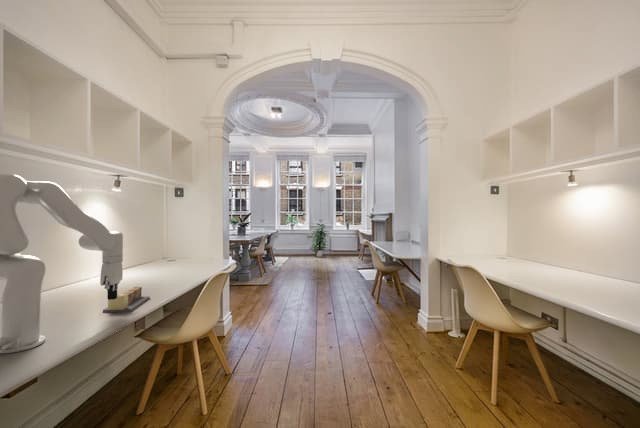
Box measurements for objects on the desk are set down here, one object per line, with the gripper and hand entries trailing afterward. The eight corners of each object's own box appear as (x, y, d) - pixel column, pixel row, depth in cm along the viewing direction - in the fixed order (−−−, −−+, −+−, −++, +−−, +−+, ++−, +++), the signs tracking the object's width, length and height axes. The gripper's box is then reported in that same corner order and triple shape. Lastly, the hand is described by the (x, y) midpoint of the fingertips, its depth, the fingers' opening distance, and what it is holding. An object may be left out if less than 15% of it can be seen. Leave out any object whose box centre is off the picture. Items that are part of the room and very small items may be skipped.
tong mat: (130, 311, 136) (130, 309, 136) (102, 312, 134) (102, 310, 134) (149, 298, 158) (149, 296, 158) (125, 299, 156) (125, 296, 156)
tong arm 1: (124, 304, 142) (124, 294, 142) (120, 304, 142) (120, 294, 142) (137, 296, 157) (137, 286, 157) (134, 296, 157) (134, 287, 157)
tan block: (123, 309, 135) (124, 296, 135) (107, 309, 134) (108, 296, 134) (127, 306, 139) (128, 293, 139) (112, 307, 138) (112, 294, 138)
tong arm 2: (128, 304, 142) (128, 294, 143) (124, 304, 142) (125, 294, 142) (141, 296, 157) (141, 286, 157) (138, 296, 157) (138, 286, 157)
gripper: (112, 256, 137) (112, 294, 137) (93, 262, 122) (93, 304, 122) (129, 256, 138) (129, 293, 138) (113, 262, 123) (112, 304, 123)
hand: (112, 298), depth 130 cm, fingers closed
